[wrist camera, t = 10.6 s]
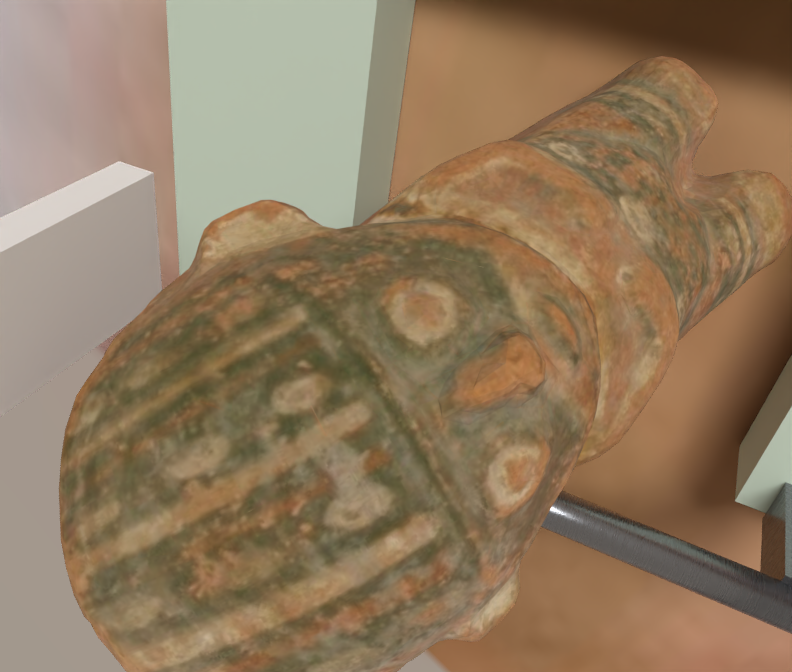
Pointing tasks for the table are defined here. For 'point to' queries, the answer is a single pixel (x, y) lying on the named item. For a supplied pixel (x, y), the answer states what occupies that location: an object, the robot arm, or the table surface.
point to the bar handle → (692, 556)
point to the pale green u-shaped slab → (331, 140)
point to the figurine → (397, 390)
